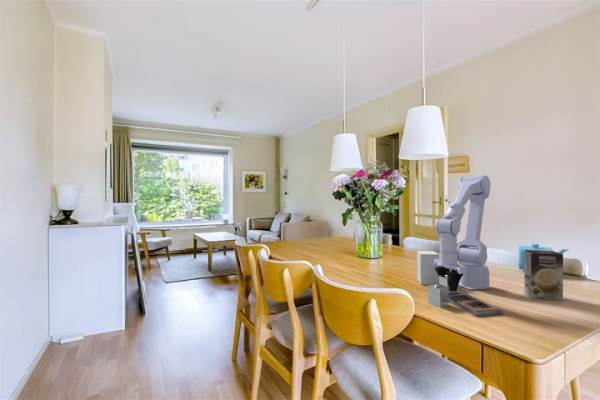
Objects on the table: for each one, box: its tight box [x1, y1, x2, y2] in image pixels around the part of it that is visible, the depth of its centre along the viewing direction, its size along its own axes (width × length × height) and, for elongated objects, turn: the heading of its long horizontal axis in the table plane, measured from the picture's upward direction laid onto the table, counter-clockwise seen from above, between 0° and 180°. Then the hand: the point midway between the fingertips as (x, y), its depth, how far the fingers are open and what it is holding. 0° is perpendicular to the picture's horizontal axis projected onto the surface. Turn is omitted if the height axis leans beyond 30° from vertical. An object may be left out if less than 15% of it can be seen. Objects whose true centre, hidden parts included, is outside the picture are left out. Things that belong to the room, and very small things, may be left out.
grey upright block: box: [427, 284, 450, 309], centre depth 99 cm, size 4×4×6 cm
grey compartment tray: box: [449, 290, 503, 317], centre depth 100 cm, size 9×23×2 cm, turn 9°
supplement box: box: [416, 250, 440, 286], centre depth 123 cm, size 7×7×13 cm
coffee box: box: [523, 250, 564, 302], centre depth 103 cm, size 9×6×16 cm
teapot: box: [517, 243, 569, 274], centre depth 135 cm, size 18×16×13 cm
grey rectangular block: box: [439, 275, 460, 295], centre depth 107 cm, size 4×4×6 cm
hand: (448, 288), depth 107 cm, fingers closed on grey rectangular block, 4 cm apart
